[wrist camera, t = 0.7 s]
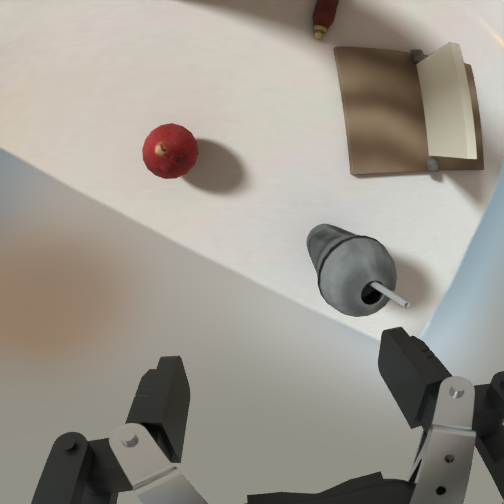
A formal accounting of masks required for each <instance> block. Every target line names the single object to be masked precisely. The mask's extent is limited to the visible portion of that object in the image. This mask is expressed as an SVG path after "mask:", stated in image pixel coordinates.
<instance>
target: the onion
mask: <svg viewBox="0 0 504 504" xmlns="http://www.w3.org/2000/svg"><path fill="white" fill-rule="evenodd" d="M142 151H143V161H144V162H145V164H146V166H147V168H148V169H149V170H150V171H151V172H152V173H153V174H154V175H156V176H159V177H162V178H165V179H170V178H178V177H180V176H182V175H184V174H186V173H187V172H188V171H189V170H190V169H191V168H192V167H193V165H194V164H195V161H196V158H197V155H198V148H197V142H196V140H195V138H194V136H193V135H192V133H191V132H190V131H188V130H187V129H186V128H184V127H183V126H180V125H176V124H172V123H171V124H165V125H161V126H159V127H157V128H156V129H154V130H153V131H152V132H151V133H150V134H149V135H148V137H147V138H146V140H145V143H144V146H143V149H142Z"/></svg>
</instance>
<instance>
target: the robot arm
mask: <svg viewBox="0 0 504 504" xmlns="http://www.w3.org/2000/svg"><path fill="white" fill-rule="evenodd" d="M378 367H379V372H380V374H381V376H382V378H383V379H384V381H385V383H386V385H387V386H388V388H389V390H390V391H391V393H392V395H393V397H394V399H395V400H396V402H397V404H398V406H399V407H400V409H401V411H402V413H403V415H404V416H405V418H406V420H407V422H408V424H409V425H410V427H411V429H412V428H415V427H418V426H422V427H423V429H424V430H423V432H422V435H421V438H420V441H419V445H418V448H417V451H416V454H415V457H414V461H413V463H412V466H411V469H410V471H409V474H408V476H407V478H406V480H405V481H404V480H399V479H383V477H382V474H381V472H377V473H373V474H370V475H366V476H362V477H359V478H354V479H351V480H348V481H346V482H344V483H341V484H339V485H337V486H335V487H333V488H330V489H328V490H326V491H323V492H321V493H317V494H308V493H289V492H277V493H267V494H257V495H247V499H248V503H246V504H463V502H464V498H465V494H466V490H467V485H468V481H469V475H470V470H471V465H472V459H473V453H474V446H476V448H477V450H478V452H479V454H480V455H481V457H482V459H483V461H484V463H485V465H486V466H487V468H488V470H489V472H490V474H491V476H492V478H493V480H494V481H495V484H496V486H497V487H498V490H499V492H500V494H501V496H502V498H503V502H502V504H504V426H503V423H504V371H502V372H498V373H497V374H495V375H494V376H493V378H492V380H491V383H490V384H484V385H476V386H473V384H472V383H471V382H470V381H469V380H467V379H465V378H463V377H457V376H455V377H454V376H452V375H451V374H450V373H449V372H448V370H447V369H446V368H445V367H444V365H443V364H442V363H441V362H440V361H439V359H438V358H437V357H436V356H435V355H434V353H433V352H432V351H430V349H429V347H428V346H427V345H426V344H425V343H424V342H423V341H422V340H420V339H418V338H416V337H415V336H411V337H410V336H409V335H408V334H407V333H406V331H405V330H404V329H403V328H402V327H397V328H392V329H387V330H384V331H383V332H382V336H381V344H380V351H379V358H378ZM135 395H136V397H134V400H133V403H132V406H131V409H130V412H129V414H128V417H127V420H126V423H125V424H123V425H121V426H119V427H117V428H116V429H115V430H113V432H112V433H111V435H110V437H109V438H105V439H100V440H93V441H87V440H86V438H85V437H84V436H83V435H82V434H80V433H77V432H68V433H65V434H63V435H61V436H60V437H58V438H57V439H56V441H55V442H54V444H53V447H52V449H51V452H50V454H49V457H48V459H47V462H46V464H45V467H44V470H43V472H42V475H41V477H40V480H39V483H38V485H37V488H36V491H35V494H34V497H33V500H32V503H31V504H116V503H117V497H118V492H123V491H130V490H134V492H135V494H136V495H137V497H138V499H139V500H140V502H141V503H142V504H208V503H207V502H206V501H205V500H204V499H203V497H201V495H200V494H199V493H198V492H197V491H196V490H195V489H194V487H193V486H192V485H191V484H190V483H189V481H188V480H187V479H186V478H185V477H184V475H183V474H182V473H181V472H180V471H179V470H178V468H177V467H174V466H173V465H172V464H171V463H181V456H182V450H183V443H184V436H185V429H186V422H187V416H188V409H189V403H190V387H189V383H188V380H187V376H186V373H185V370H184V366H183V362H182V359H181V357H180V356H167V357H166V356H165V357H161V358H160V360H159V363H158V366H157V369H150V370H148V371H147V373H146V374H145V375H144V376H143V377H142V378H141V381H140V383H139V386H138V389H137V392H136V394H135Z"/></svg>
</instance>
